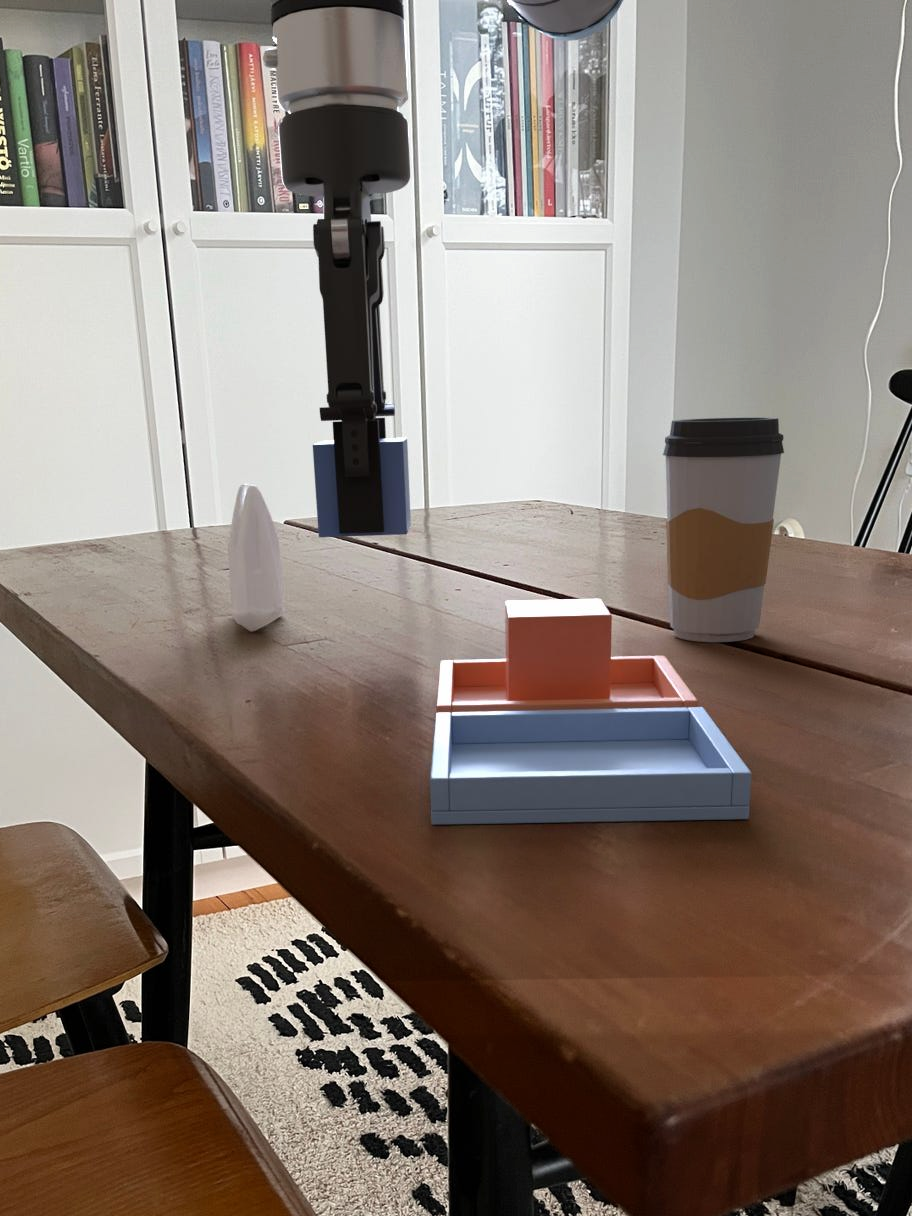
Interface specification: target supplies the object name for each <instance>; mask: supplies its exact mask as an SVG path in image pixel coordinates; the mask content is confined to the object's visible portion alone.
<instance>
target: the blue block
mask: <svg viewBox="0 0 912 1216" xmlns="http://www.w3.org/2000/svg"><path fill="white" fill-rule="evenodd" d="M408 447H409V446H408V438H407V437H389V438H388V437H386V438H385V439H380V459H381V478H382V498H383V518H384V532H371V533H344V534H340V533H339V517H338V501H337V485H336V469H335V453H334V439H332V440H321V441H319V442H316V443H314V444H312V457H313V458H312V459H313V472H314V486H315V487H314V488H315V501H316V518H317V532H318V533H317V534H318V538H339V537H341V538H342V537H366V536H367V537H370V536H397V535H407V534H408V532H409V530H410V529H411V525H412V519H411V496H410V474H409V472H410V471H409V451H408V450H409V449H408Z"/></svg>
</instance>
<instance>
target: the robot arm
mask: <svg viewBox="0 0 912 1216" xmlns="http://www.w3.org/2000/svg"><path fill="white" fill-rule="evenodd" d="M269 1H270V22H271V23H270V24H271V27H272V39H273V42H275V44H276V48H267V49H265V50H264V52H263V56H262V61H263V65H264V66H265V68H266V69H269V70H275V85H276V86H275V87H276V99H277V100H276V101H277V104H278V106H279V107H280V108H281V109H282V110H284V111H285V112H287V113H288V114H286V115H284V116H283V117H282V118H281V121H280V123H279V124H278V126H277V129H278V141H279V142H278V144H279V156H280V172H281V181H282V184H283V186H284V188H285V189H286V190H287V191H289V192H291V193H293V194H296V195H300V196H306V197H307V196H308V197H315V198H316V197H322V198H323V200H322V201H323V202H322V203H323V218H318V219H317V221H316V223H313V225H312V228H313V229H312V236H313V237H312V238H313V248H314V251H315V254H316V257H317V259H318V282H319V283H318V285H319V287H318V288H319V292H320V296H321V298H322V309H323V310H322V311H323V325H324V326H323V327H324V342H325V343H324V345H325V358H326V360H325V361H326V377H327V378H326V379H327V393H326V403H327V404H328V406H327V407H326V406H325V407H319V417H320V421H321V422H331V421H332V435H333V440H334V453H335V469H336V485H337V501H338V517H339V533H340V534H344V533H371V532H384V518H383V498H382V478H381V459H380V439H385V438H387V431H386V429H387V428H386V417H395V415H396V405H395V402H393V403H391V402H390V403H386V400H387V391H385V387H384V383H385V382H384V365H383V346H382V345H383V344H382V328H381V327H382V326H381V309H380V308H381V307H380V306H381V304H382V302H383V299H384V291H385V290H384V279H383V277H384V276H383V275H384V274H383V260H382V259H384V256H385V251H386V241H385V231H384V226H382V222H381V220H372V213H371V204H370V197H371V196H372V195H374V194H388V193H393V192H397V191H399V190H403V188H405V187H406V186H407V185H408V184H409V182H410V180H411V158H410V157H411V156H410V155H411V154H410V135H409V120H408V119H407V118H406V117H405V115H404V113H402V112H401V111H399V110H400V109H401V108H402V107H403V106H404V105H405V104H406V103H407V102H408V100H409V88H408V87H409V86H408V59H407V32H406V30H407V29H406V20H405V10H404V9H405V8H404V4H403V2H404V0H269ZM506 1H507V3H508V5H509V6H510V7H512V9H513V11H514V13H515V14H516V16H517V17H518V18H519V20H522V22H524V23H525V24H526V25H527V26H529V28H532V29H534V30H535V31H538V32H540V33H542V34H543V35H545V36H547V37H550V38H552V39H556V40H558V41H567V42H573V41H579V40H583V39H586V38H588V37H592V36H593V35H594V34H596V33H598V32H599V31H601V30H602V29H603V28H604V27H606V26H607V24H609V22H610V21H611V20H612V19H613V18H614V17H615V15H616V14H617V13H618V11H619V9H620V8H621V5H622V4H623V2H624V0H506Z"/></svg>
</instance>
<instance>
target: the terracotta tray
mask: <svg viewBox="0 0 912 1216" xmlns="http://www.w3.org/2000/svg"><path fill="white" fill-rule="evenodd" d="M682 707H686V708H689V707H699V700H698V699H697V698H696V696H695V695H694V694H693V692H692V691H691V689H690V688H689V687H688V685H687V684H686V682H685V681H684V680H683V679H682V677H681V676H680V674H679V672H677V670H676V669H675V668H674V666H673V664H672V663H671V662H670V661H669V660H668V658H667V657H666V656H665V655H625V656H624V655H621V656H611V673H610V699H580V700H532V701H507V698H506V658H488V659H487V658H486V659H485V658H484V659H483V658H482V659H481V658H480V659H452V660H451V659H448V660H447V659H446V660H443V659H442V660H440V662H439V675H438V686H437V695H436V713H442V712H450V713H451V714H452V712H487V711H536V710H585V709H633V708H682Z"/></svg>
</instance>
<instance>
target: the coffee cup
mask: <svg viewBox="0 0 912 1216" xmlns="http://www.w3.org/2000/svg"><path fill="white" fill-rule="evenodd" d="M670 424H671V425H670V432H669V435H667V436H665V437H664V443H665V446H664V448H663V449H664V450H663V453H662V456H665V481H666V486H665V487H666V517H667V518H666V520H665V527H666V533H665V534H666V563H667V585H668V591H669V593H668V594H669V627H670V628H672V630H673V636H674V637H676V638H678V639H681V640H686V641H692V642H701V643H732V642H741V641H746V640H749V639H752V638H754V637H755V634H756V633H755V632H756V630H757V629H759V628H760V621H761V616H762V615H761V614H762V607H763V599H764V592H765V585H766V584H767V583H766V582H767V576H768V569H769V560H770V552H771V546H772V538H773V530H774V523H775V519H774V515H775V514H774V512H775V504H776V497H777V490H778V483H779V482H778V481H779V474H780V473H779V472H780V467H781V458H782V454H785V449H784V444H783V442H784V435H783V434H782V433H780V426H779V425H780V423H779V417H712V418H709V417H707V418H690V419H688V418H687V419H684V418H683V419H673V420H671V423H670Z"/></svg>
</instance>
